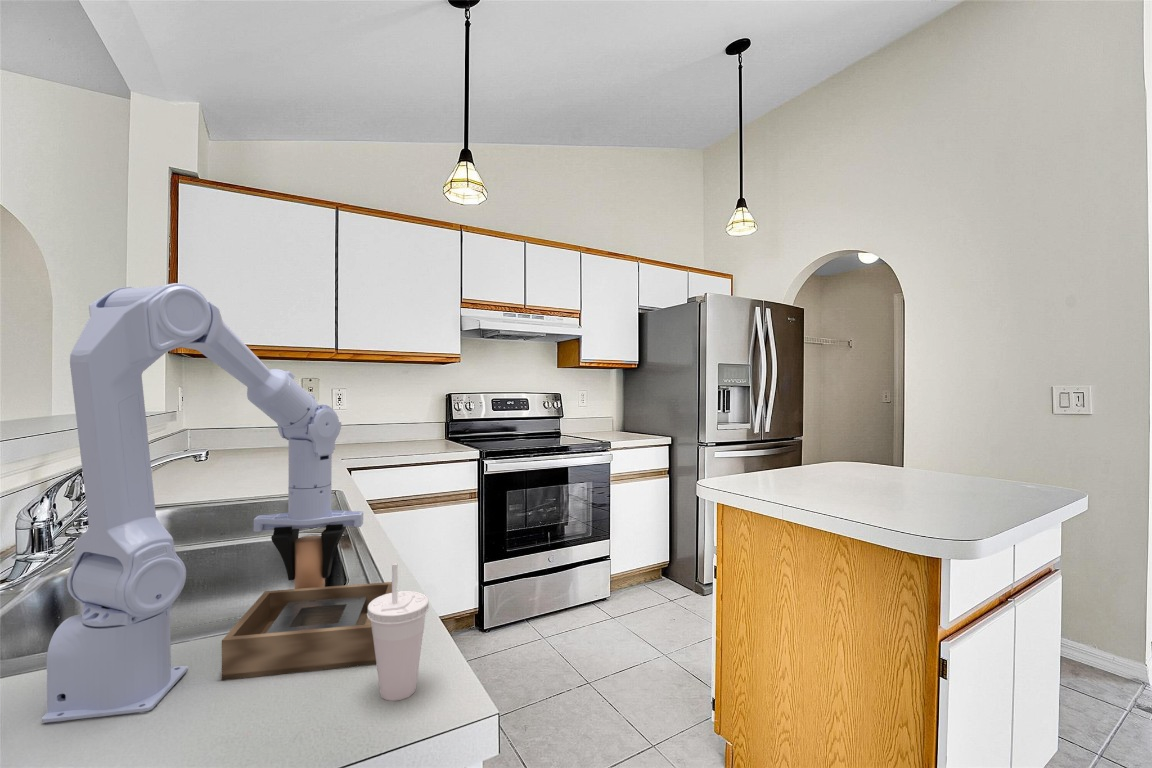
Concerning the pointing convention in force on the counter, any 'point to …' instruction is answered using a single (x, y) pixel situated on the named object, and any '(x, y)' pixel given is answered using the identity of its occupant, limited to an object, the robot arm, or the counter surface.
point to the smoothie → (397, 638)
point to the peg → (309, 562)
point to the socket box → (298, 636)
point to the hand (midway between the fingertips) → (309, 576)
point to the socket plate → (321, 614)
